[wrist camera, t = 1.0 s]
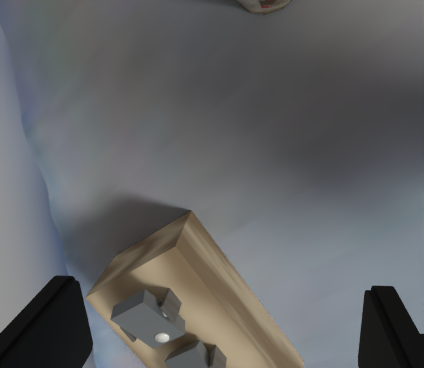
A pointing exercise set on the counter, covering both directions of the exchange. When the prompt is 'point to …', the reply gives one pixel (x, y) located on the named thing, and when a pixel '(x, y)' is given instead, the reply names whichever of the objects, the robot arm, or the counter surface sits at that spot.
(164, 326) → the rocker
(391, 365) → the robot arm
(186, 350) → the rocker middle
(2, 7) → the counter surface
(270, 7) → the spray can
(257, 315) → the switch unit
